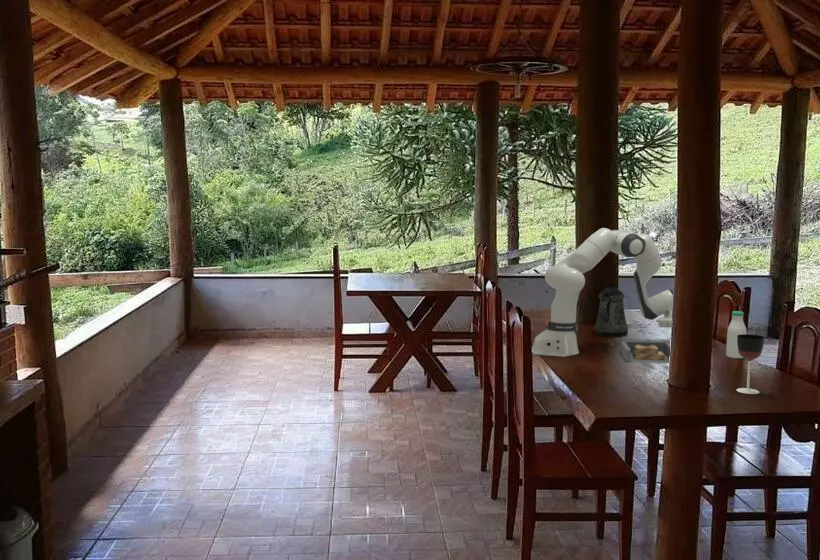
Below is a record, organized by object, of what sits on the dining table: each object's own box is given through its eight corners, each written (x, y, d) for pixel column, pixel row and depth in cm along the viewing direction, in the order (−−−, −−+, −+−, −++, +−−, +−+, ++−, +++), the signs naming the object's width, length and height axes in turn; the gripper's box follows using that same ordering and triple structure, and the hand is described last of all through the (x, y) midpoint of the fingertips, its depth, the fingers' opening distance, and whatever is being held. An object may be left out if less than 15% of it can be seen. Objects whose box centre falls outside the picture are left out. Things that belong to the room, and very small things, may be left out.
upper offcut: (635, 353, 293) (636, 348, 293) (634, 351, 298) (634, 345, 298) (658, 354, 292) (658, 348, 291) (656, 351, 297) (656, 346, 296)
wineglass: (764, 394, 246) (767, 339, 243) (738, 393, 247) (740, 338, 245) (757, 388, 253) (760, 334, 251) (731, 387, 255) (734, 334, 252)
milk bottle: (747, 359, 299) (749, 313, 296) (728, 358, 300) (730, 312, 298) (742, 355, 306) (745, 310, 304) (724, 354, 308) (726, 310, 305)
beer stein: (625, 331, 360) (627, 284, 357) (630, 339, 341) (632, 289, 338) (592, 330, 363) (594, 283, 360) (596, 338, 344) (597, 288, 341)
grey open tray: (626, 365, 289) (626, 350, 288) (620, 354, 308) (620, 340, 307) (676, 367, 286) (677, 351, 285) (667, 356, 305) (668, 341, 304)
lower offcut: (634, 359, 293) (634, 353, 293) (632, 356, 299) (632, 350, 299) (664, 360, 291) (664, 354, 291) (661, 357, 297) (662, 351, 297)
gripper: (655, 313, 323) (660, 318, 309) (701, 314, 319) (709, 319, 306) (654, 326, 324) (660, 332, 310) (701, 327, 320) (708, 333, 307)
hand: (685, 326), depth 308 cm, fingers open, 8 cm apart
